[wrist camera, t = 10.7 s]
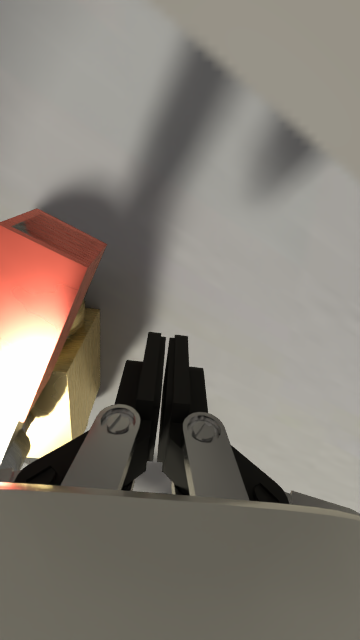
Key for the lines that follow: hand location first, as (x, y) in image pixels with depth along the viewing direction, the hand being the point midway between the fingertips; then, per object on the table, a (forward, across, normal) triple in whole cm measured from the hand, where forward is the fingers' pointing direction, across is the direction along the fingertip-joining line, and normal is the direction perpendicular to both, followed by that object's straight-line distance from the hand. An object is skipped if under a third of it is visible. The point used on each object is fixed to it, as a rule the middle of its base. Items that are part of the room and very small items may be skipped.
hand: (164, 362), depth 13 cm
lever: (0, +6, +1) cm, 6 cm away
